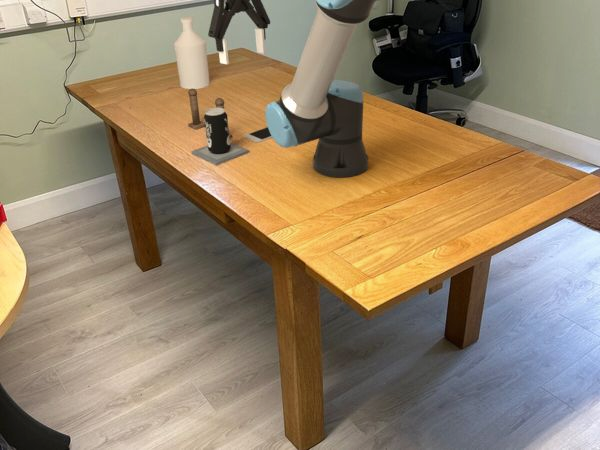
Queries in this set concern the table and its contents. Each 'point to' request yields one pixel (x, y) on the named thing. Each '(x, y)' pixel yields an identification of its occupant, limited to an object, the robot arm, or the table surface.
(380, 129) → the table surface
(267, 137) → the smartphone
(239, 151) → the slate coaster
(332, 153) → the robot arm
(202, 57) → the bottle
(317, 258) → the table surface
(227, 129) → the beverage can
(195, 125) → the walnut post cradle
